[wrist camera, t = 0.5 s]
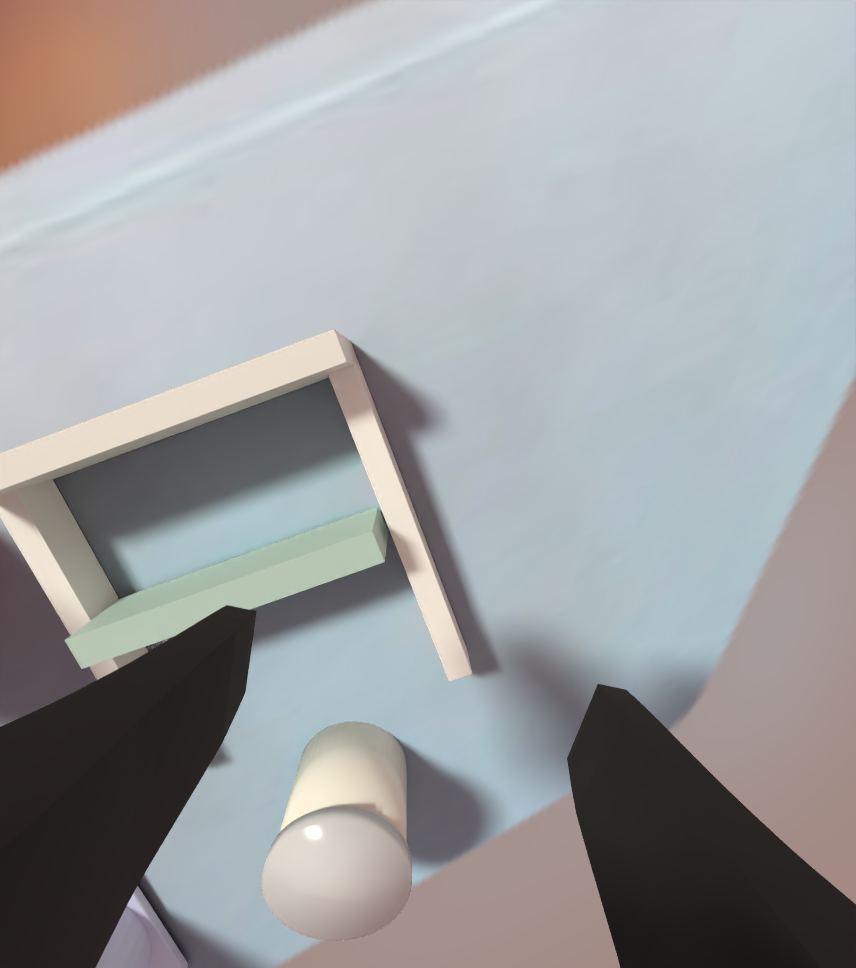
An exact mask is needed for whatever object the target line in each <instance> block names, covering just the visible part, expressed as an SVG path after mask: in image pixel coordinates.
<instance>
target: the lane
mask: <svg viewBox="0 0 856 968" xmlns="http://www.w3.org/2000/svg"><path fill="white" fill-rule="evenodd" d="M327 378H330V381H331V383H332V386H333V388H334V391H335V394H336V396H337V399H338V401H339V404H340V406H341V409H342V411H343V414H344V416H345V419H346V421H347V424H348V426H349V429H350V432H351V434H352V437H353V439H354V442H355V444H356V447H357V449H358V452H359V454H360V457H361V459H362V462H363V464H364V467H365V469H366V472H367V475H368V477H369V480H370V482H371V485H372V487H373V490H374V492H375V495H376V497H377V500H378V502H379V505H380V507H381V510H382V513H383V515H384V518H385V520H386V523H387V525H388V528H389V530H390V533H391V535H392V538H393V540H394V543H395V545H396V548H397V550H398V553H399V556H400V558H401V561H402V563H403V566H404V568H405V571H406V573H407V576H408V578H409V581H410V583H411V586H412V588H413V591H414V593H415V596H416V599H417V601H418V604H419V606H420V609H421V611H422V614H423V616H424V619H425V621H426V624H427V626H428V629H429V631H430V634H431V637H432V639H433V642H434V644H435V647H436V649H437V652H438V654H439V657H440V659H441V662H442V664H443V667H444V669H445V672H446V674H447V677H448V680H449V681H452V680H455V679H458V678H461V677H464V676H466V675H469V674H472V670H471V665H470V661H469V656H468V652H467V648H466V645H465V643H464V640H463V637H462V635H461V632H460V629H459V627H458V624H457V621H456V619H455V616H454V614H453V611H452V608H451V606H450V603H449V600H448V598H447V595H446V592H445V590H444V587H443V584H442V582H441V579H440V577H439V574H438V571H437V569H436V566H435V563H434V561H433V558H432V555H431V553H430V550H429V547H428V545H427V542H426V540H425V537H424V534H423V532H422V529H421V526H420V524H419V521H418V518H417V516H416V513H415V510H414V508H413V505H412V502H411V500H410V497H409V495H408V492H407V489H406V487H405V484H404V481H403V479H402V476H401V473H400V471H399V468H398V465H397V463H396V460H395V458H394V455H393V452H392V450H391V447H390V444H389V442H388V439H387V436H386V434H385V431H384V428H383V426H382V423H381V421H380V418H379V415H378V413H377V410H376V407H375V405H374V402H373V399H372V397H371V394H370V391H369V389H368V386H367V384H366V381H365V378H364V376H363V373H362V370H361V368H360V365H359V362H358V360H357V357H356V354H355V352H354V349H353V347H352V344H351V341H350V340H349V339H347V338H346V337H344V336H343V335H342V334H340V333H339V332H337V331H336V330H335V329H333V330H330V331H327V332H324V333H322V334H319V335H316V336H314V337H311V338H308V339H306V340H303V341H300V342H298V343H295V344H292V345H290V346H287V347H284V348H282V349H279V350H276V351H273V352H271V353H268V354H265V355H263V356H260V357H257V358H255V359H252V360H249V361H247V362H244V363H241V364H239V365H236V366H233V367H231V368H228V369H225V370H222V371H220V372H217V373H214V374H212V375H209V376H206V377H204V378H201V379H198V380H196V381H193V382H190V383H188V384H185V385H182V386H180V387H177V388H174V389H171V390H169V391H166V392H163V393H161V394H158V395H155V396H153V397H150V398H147V399H145V400H142V401H139V402H137V403H134V404H131V405H129V406H126V407H123V408H121V409H118V410H115V411H112V412H110V413H107V414H104V415H102V416H99V417H96V418H94V419H91V420H88V421H86V422H83V423H80V424H78V425H75V426H72V427H70V428H67V429H64V430H61V431H59V432H56V433H53V434H51V435H48V436H45V437H43V438H40V439H37V440H35V441H32V442H29V443H27V444H24V445H21V446H19V447H16V448H13V449H10V450H8V451H5V452H2V453H0V518H1V519H2V521H3V523H4V524H5V526H6V528H7V529H8V531H9V533H10V534H11V536H12V538H13V539H14V541H15V543H16V544H17V546H18V548H19V550H20V551H21V553H22V555H23V556H24V558H25V560H26V561H27V563H28V565H29V566H30V568H31V570H32V571H33V573H34V575H35V576H36V578H37V580H38V582H39V583H40V585H41V587H42V588H43V590H44V592H45V593H46V595H47V597H48V598H49V600H50V602H51V603H52V605H53V607H54V608H55V610H56V612H57V614H58V615H59V617H60V619H61V620H62V622H63V624H64V625H65V627H66V629H67V630H68V632H69V634H70V635H72V634H74V633H75V632H76V631H78V630H79V629H80V628H82V627H83V626H84V625H86V624H87V623H88V622H90V621H91V620H92V619H94V618H95V617H96V616H98V615H99V614H100V613H102V612H103V611H104V610H106V609H107V608H108V607H110V606H111V605H112V604H114V603H115V602H116V601H118V600H119V598H118V596H117V594H116V593H115V591H114V589H113V587H112V585H111V584H110V582H109V580H108V578H107V576H106V575H105V573H104V571H103V569H102V567H101V566H100V564H99V562H98V560H97V558H96V557H95V555H94V553H93V551H92V549H91V548H90V546H89V544H88V542H87V540H86V539H85V537H84V535H83V533H82V531H81V530H80V528H79V526H78V524H77V522H76V521H75V519H74V517H73V515H72V513H71V512H70V510H69V508H68V506H67V504H66V503H65V501H64V499H63V497H62V495H61V494H60V492H59V490H58V488H57V486H56V485H55V483H54V481H53V479H56V478H59V477H61V476H64V475H67V474H69V473H72V472H75V471H77V470H80V469H83V468H86V467H88V466H91V465H94V464H96V463H99V462H102V461H105V460H107V459H110V458H113V457H115V456H118V455H121V454H124V453H126V452H129V451H132V450H134V449H137V448H140V447H143V446H145V445H148V444H151V443H153V442H156V441H159V440H161V439H164V438H167V437H170V436H172V435H175V434H178V433H180V432H183V431H186V430H189V429H191V428H194V427H197V426H199V425H202V424H205V423H208V422H210V421H213V420H216V419H218V418H221V417H224V416H227V415H229V414H232V413H235V412H237V411H240V410H243V409H246V408H248V407H251V406H254V405H256V404H259V403H262V402H264V401H267V400H270V399H273V398H275V397H278V396H281V395H283V394H286V393H289V392H292V391H294V390H297V389H300V388H302V387H305V386H308V385H311V384H313V383H316V382H319V381H321V380H324V379H327ZM147 652H148V650H147V648H146V646H145V647H143V648H140V649H137V650H134V651H131V652H128V653H126V654H123V655H120V656H117V657H114V658H111V659H109V660H106V661H103V662H100V663H97V664H94V665H92V666H89V667H90V669H91V671H92V673H93V674H94V676H95V678H96V679H97V680H98V679H100V678H102V677H104V676H106V675H108V674H110V673H111V672H113V671H115V670H117V669H119V668H121V667H123V666H125V665H126V664H128V663H130V662H132V661H133V660H135V659H137V658H139V657H140V656H142V655H144V654H145V653H147Z"/></svg>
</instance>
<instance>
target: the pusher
mask: <svg viewBox="0 0 856 968" xmlns="http://www.w3.org/2000/svg"><path fill="white" fill-rule="evenodd" d="M388 533H389V532H388V530H387V527H386V525H385V522H384V520H383V517H382V515H381V512H380V510H379V507H378V506H377V507H374V508H372V509H369V510H366V511H363V512H360V513H358V514H355V515H352V516H349V517H347V518H344V519H341V520H338V521H335V522H333V523H330V524H327V525H324V526H321V527H319V528H316V529H313V530H310V531H307V532H305V533H302V534H299V535H296V536H293V537H291V538H288V539H285V540H282V541H279V542H277V543H274V544H271V545H268V546H265V547H263V548H260V549H257V550H254V551H251V552H249V553H246V554H243V555H240V556H237V557H235V558H232V559H229V560H226V561H223V562H221V563H218V564H215V565H212V566H209V567H207V568H204V569H201V570H198V571H195V572H193V573H190V574H187V575H184V576H181V577H179V578H176V579H173V580H170V581H168V582H165V583H162V584H159V585H156V586H154V587H151V588H148V589H145V590H142V591H140V592H137V593H134V594H131V595H128V596H126V597H123V598H120V599H119V600H118V601H116V602H115V603H114V604H112V605H111V606H110V607H108V608H107V609H106V610H104V611H103V612H102V613H100V614H99V615H98V616H96V617H95V618H94V619H92V620H91V621H90V622H88V623H87V624H86V625H84V626H83V627H82V628H80V629H79V630H78V631H76V632H75V633H74V634H72V635H71V636H70V637H68V638H67V639H66V640H65V642H66V644H67V645H68V647H69V649H70V650H71V652H72V654H73V655H74V657H75V659H76V660H77V662H78V664H79V665H80V667H81V669H83V668H86V667H89V666H92V665H94V664H97V663H100V662H103V661H106V660H109V659H111V658H114V657H117V656H120V655H123V654H126V653H128V652H131V651H134V650H137V649H140V648H143V647H145V646H148V645H151V644H154V643H157V642H160V641H162V640H165V639H168V638H171V637H174V636H176V635H178V634H179V633H181V632H182V631H184V630H186V629H187V628H189V627H191V626H192V625H194V624H196V623H197V622H199V621H200V620H202V619H204V618H205V617H207V616H209V615H210V614H212V613H214V612H216V611H217V610H219V609H221V608H222V607H224V606H226V605H229V606H234V607H238V608H243V609H248V610H250V609H253V608H256V607H259V606H262V605H264V604H267V603H270V602H273V601H276V600H279V599H281V598H284V597H287V596H290V595H293V594H296V593H298V592H301V591H304V590H307V589H310V588H313V587H315V586H318V585H321V584H324V583H327V582H330V581H332V580H335V579H338V578H341V577H344V576H347V575H349V574H352V573H355V572H358V571H361V570H364V569H366V568H369V567H372V566H375V565H378V564H381V563H383V562H385V556H386V548H387V541H388Z"/></svg>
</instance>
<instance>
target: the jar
mask: <svg viewBox="0 0 856 968" xmlns="http://www.w3.org/2000/svg"><path fill="white" fill-rule="evenodd" d="M406 839H407V763H406V757H405V754H404V751H403V749H402V747H401V745H400V744H399V743H398V741H397V740H396V739H395V738H394V737H393V736H392V735H391V734H390V733H388V732H387V731H385V730H384V729H382V728H380V727H378V726H375V725H372V724H369V723H364V722H344V723H339V724H335V725H332V726H330V727H327V728H325V729H324V730H322V731H320V732H319V733H318V734H316V735H315V736H314V737H313V738H312V739H311V740H310V741H309V743H308V744H307V745H306V747H305V749H304V751H303V754H302V756H301V760H300V763H299V767H298V770H297V774H296V778H295V781H294V785H293V788H292V792H291V795H290V799H289V802H288V806H287V809H286V813H285V816H284V820H283V823H282V827H281V830H280V833H279V834H278V835H277V837H276V838H275V840H274V841H273V843H272V845H271V848H270V850H269V853H268V856H267V860H266V863H265V866H264V870H263V875H262V891H263V895H264V898H265V901H266V903H267V905H268V907H269V909H270V910H271V911H272V913H273V914H274V915H275V916H276V917H277V919H278V920H280V921H281V922H282V923H283V924H284V925H286V926H287V927H289V928H290V929H292V930H294V931H296V932H298V933H300V934H302V935H305V936H308V937H311V938H315V939H321V940H329V941H330V940H332V941H341V940H351V939H356V938H360V937H364V936H366V935H369V934H372V933H374V932H376V931H378V930H380V929H382V928H383V927H385V926H386V925H388V924H389V923H390V922H391V921H392V920H394V919H395V918H396V917H397V916H398V914H399V913H400V912H401V911H402V909H403V908H404V906H405V904H406V902H407V900H408V898H409V895H410V892H411V886H412V859H411V854H410V850H409V847H408V845H407V843H406Z"/></svg>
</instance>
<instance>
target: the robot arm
mask: <svg viewBox="0 0 856 968" xmlns="http://www.w3.org/2000/svg"><path fill="white" fill-rule="evenodd" d="M255 618H256V611H253V610H248V609H243V608H238V607H234V606H229V605H226V606H224V607H222V608H221V609H219V610H217V611H216V612H214V613H212V614H210V615H209V616H207V617H205V618H204V619H202V620H200V621H199V622H197V623H196V624H194V625H192V626H191V627H189V628H187V629H186V630H184V631H182V632H181V633H179V634H178V635H176V636H174V637H173V638H171V639H169V640H168V641H166V642H164V643H163V644H161V645H159V646H157V647H156V648H154V649H152V650H151V651H149V652H147V653H145V654H144V655H142V656H140V657H139V658H137V659H135V660H133V661H132V662H130V663H128V664H126V665H125V666H123V667H121V668H119V669H117V670H115V671H113V672H111V673H110V674H108V675H106V676H104V677H102V678H100V679H98V680H96V681H95V682H93V683H91V684H89V685H87V686H85V687H83V688H81V689H80V690H78V691H76V692H74V693H72V694H70V695H68V696H66V697H64V698H62V699H60V700H58V701H56V702H54V703H52V704H50V705H47V706H45V707H43V708H41V709H39V710H37V711H35V712H33V713H30V714H28V715H26V716H24V717H21V718H19V719H17V720H15V721H13V722H10V723H8V724H6V725H4V726H1V727H0V968H188V963H187V961H186V960H185V958H184V957H183V955H182V953H181V952H180V950H179V949H178V947H177V946H176V944H175V943H174V941H173V940H172V938H171V936H170V935H169V933H168V932H167V930H166V929H165V927H164V926H163V924H162V922H161V921H160V919H159V918H158V916H157V915H156V913H155V912H154V910H153V909H152V907H151V905H150V904H149V902H148V901H147V899H146V898H145V896H144V895H143V893H142V892H141V890H140V888H139V887H138V884H139V882H140V881H141V879H142V877H143V875H144V873H145V872H146V870H147V868H148V866H149V865H150V863H151V861H152V860H153V858H154V856H155V855H156V853H157V851H158V850H159V848H160V846H161V845H162V843H163V841H164V840H165V838H166V836H167V835H168V833H169V831H170V830H171V828H172V826H173V825H174V823H175V821H176V820H177V818H178V816H179V815H180V813H181V811H182V810H183V808H184V806H185V805H186V803H187V801H188V800H189V798H190V796H191V795H192V793H193V791H194V790H195V788H196V786H197V785H198V783H199V781H200V779H201V778H202V776H203V774H204V773H205V771H206V769H207V768H208V766H209V764H210V763H211V761H212V759H213V758H214V756H215V754H216V752H217V751H218V749H219V747H220V746H221V744H222V742H223V740H224V738H225V736H226V734H227V731H228V729H229V727H230V725H231V723H232V721H233V719H234V716H235V714H236V712H237V710H238V708H239V705H240V703H241V701H242V699H243V696H244V694H245V691H246V684H247V676H248V669H249V662H250V654H251V647H252V640H253V632H254V625H255ZM567 760H568V767H569V774H570V780H571V787H572V792H573V798H574V803H575V809H576V814H577V817H578V821H579V825H580V828H581V832H582V836H583V839H584V843H585V846H586V850H587V853H588V857H589V860H590V864H591V867H592V871H593V874H594V877H595V881H596V884H597V888H598V891H599V894H600V898H601V901H602V905H603V908H604V912H605V915H606V918H607V922H608V925H609V929H610V932H611V936H612V939H613V942H614V946H615V949H616V953H617V956H618V960H619V964H620V968H856V904H854V903H853V902H852V901H851V900H850V899H848V898H847V897H846V896H845V895H844V894H843V893H841V892H840V891H839V890H838V889H837V888H836V887H834V886H833V885H832V884H831V883H829V882H828V881H827V880H826V879H825V878H824V877H823V876H821V875H820V874H819V873H818V872H816V871H815V870H814V869H813V868H812V867H811V866H809V865H808V864H807V863H806V862H805V861H804V860H803V859H802V858H800V857H799V856H798V855H797V854H796V853H795V852H794V851H792V850H791V849H790V848H789V847H788V846H787V845H786V844H785V843H784V842H783V841H782V840H780V839H779V838H778V837H777V836H776V835H775V834H774V833H773V832H772V831H771V830H770V829H769V828H767V827H766V826H765V825H764V824H763V823H762V822H761V821H760V820H759V819H758V818H757V817H755V815H753V814H752V813H751V812H750V811H749V810H748V809H747V808H746V807H745V806H744V805H743V804H742V803H741V802H740V801H739V800H738V799H737V798H736V797H735V796H733V795H732V794H731V793H730V792H729V791H728V790H727V789H726V788H725V787H724V786H723V785H722V784H721V783H720V782H719V781H718V780H717V779H716V778H715V777H714V776H713V775H712V774H711V773H710V772H709V771H708V770H707V769H706V768H705V767H704V766H703V765H702V764H701V763H700V762H699V761H698V760H697V759H696V758H695V757H694V756H693V755H692V754H691V753H690V752H689V751H688V750H687V749H686V748H685V747H684V746H683V745H682V744H681V743H680V742H679V741H678V740H677V739H676V738H675V737H674V736H673V735H672V734H671V733H670V732H669V731H668V730H667V729H666V728H665V727H664V726H663V725H662V724H661V723H660V722H659V721H658V720H657V719H656V718H655V717H654V716H653V715H652V714H651V713H650V712H649V711H648V710H647V709H646V708H645V707H644V706H643V705H642V704H641V703H640V702H639V701H638V700H637V699H636V698H635V697H634V696H632V695H631V694H630V693H629V692H628V691H627V690H624V689H619V688H615V687H610V686H605V685H601V684H598V685H597V688H596V690H595V693H594V695H593V697H592V700H591V702H590V705H589V707H588V709H587V712H586V714H585V717H584V719H583V722H582V724H581V726H580V729H579V731H578V734H577V736H576V738H575V741H574V743H573V746H572V748H571V751H570V753H569V755H568V758H567Z"/></svg>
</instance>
